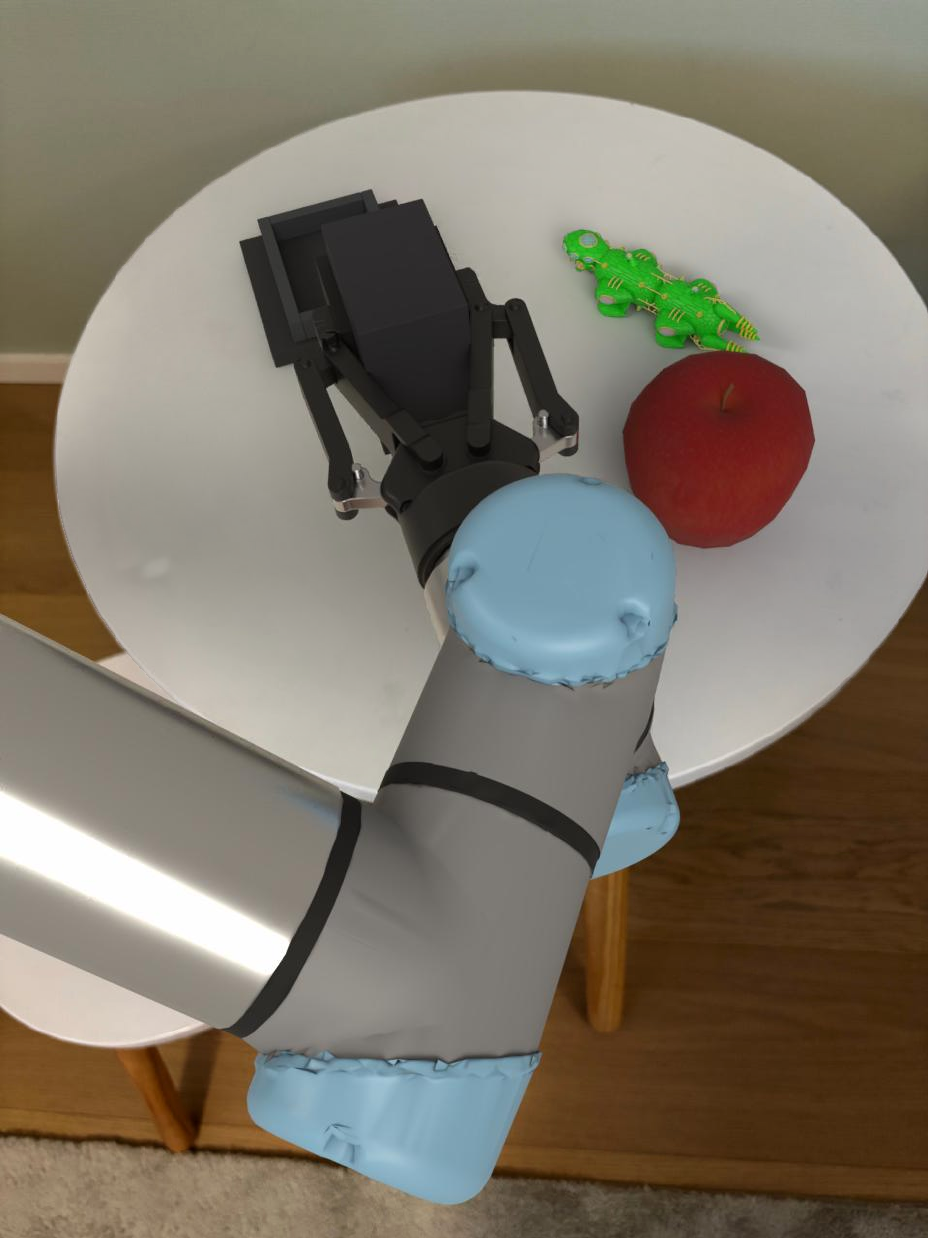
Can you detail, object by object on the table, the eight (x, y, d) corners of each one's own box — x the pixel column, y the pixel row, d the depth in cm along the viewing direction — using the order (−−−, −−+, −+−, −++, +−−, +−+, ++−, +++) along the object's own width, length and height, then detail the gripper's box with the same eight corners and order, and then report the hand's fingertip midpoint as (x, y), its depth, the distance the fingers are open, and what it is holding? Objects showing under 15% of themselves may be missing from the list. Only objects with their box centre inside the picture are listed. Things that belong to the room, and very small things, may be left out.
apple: (727, 425, 76) (757, 285, 65) (823, 539, 71) (876, 408, 59) (585, 490, 74) (590, 358, 63) (673, 613, 69) (697, 493, 57)
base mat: (275, 368, 83) (265, 336, 80) (243, 254, 90) (232, 221, 87) (443, 321, 84) (439, 287, 81) (398, 213, 91) (393, 178, 88)
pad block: (385, 456, 62) (357, 334, 54) (350, 352, 67) (320, 224, 58) (480, 429, 63) (468, 304, 54) (439, 327, 67) (422, 197, 59)
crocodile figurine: (589, 242, 87) (590, 198, 83) (774, 336, 80) (784, 293, 77) (539, 287, 85) (539, 244, 81) (725, 387, 78) (734, 346, 74)
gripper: (321, 657, 53) (241, 346, 65) (669, 554, 55) (530, 267, 66) (289, 581, 47) (206, 249, 58) (685, 466, 48) (528, 165, 60)
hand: (379, 259), depth 62 cm, fingers closed on pad block, 6 cm apart
